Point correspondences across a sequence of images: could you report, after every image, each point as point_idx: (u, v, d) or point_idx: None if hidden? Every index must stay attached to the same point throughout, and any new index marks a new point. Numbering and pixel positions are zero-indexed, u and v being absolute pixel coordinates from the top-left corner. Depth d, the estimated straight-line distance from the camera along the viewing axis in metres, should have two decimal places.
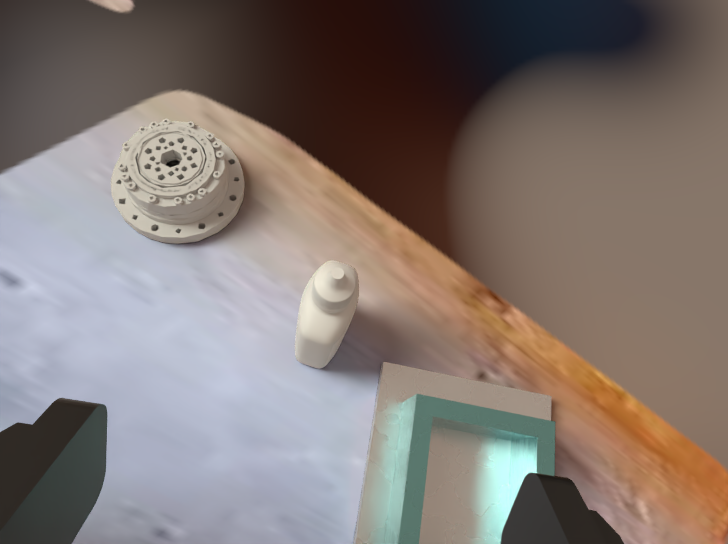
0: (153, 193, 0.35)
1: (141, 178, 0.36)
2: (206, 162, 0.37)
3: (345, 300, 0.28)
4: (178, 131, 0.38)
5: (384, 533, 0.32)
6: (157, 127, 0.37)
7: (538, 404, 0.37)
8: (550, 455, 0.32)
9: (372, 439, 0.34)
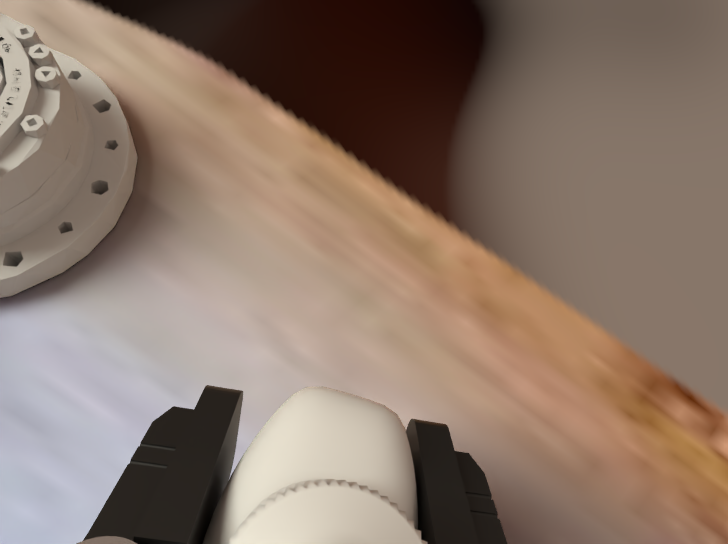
0: None
1: None
2: (4, 93, 0.14)
3: None
4: None
5: None
6: None
7: None
8: None
9: None
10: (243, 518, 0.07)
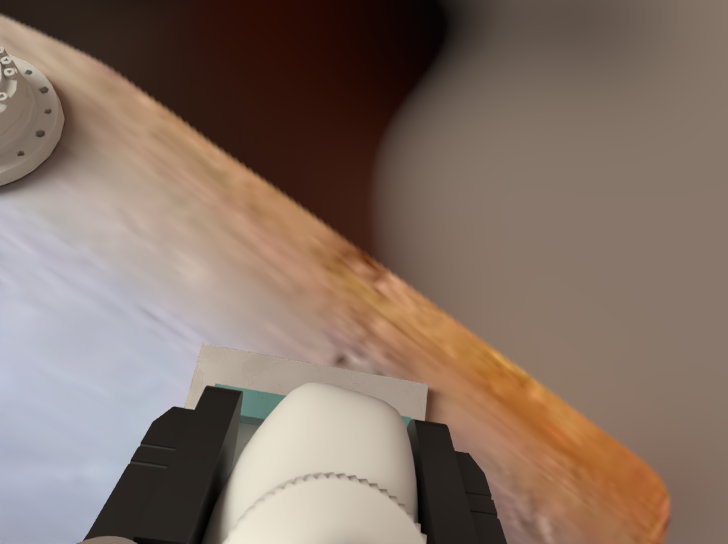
0: None
1: None
2: None
3: None
4: None
5: None
6: None
7: (410, 396, 0.29)
8: None
9: None
10: (243, 513, 0.07)
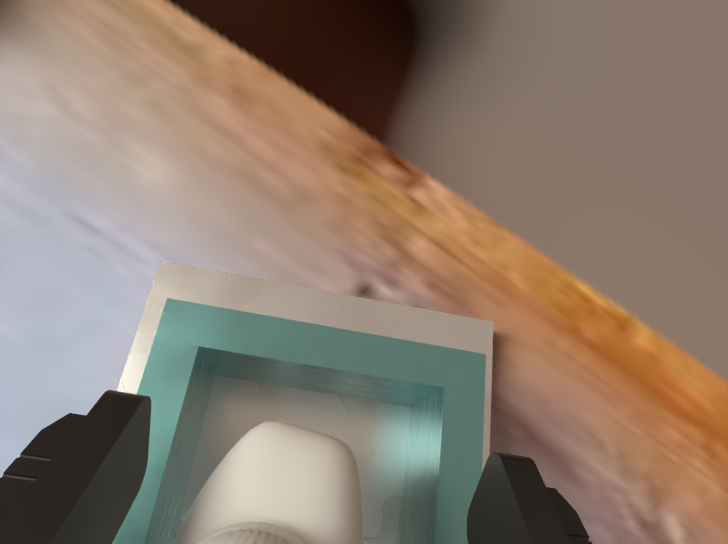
0: None
1: None
2: None
3: None
4: None
5: None
6: None
7: (468, 337, 0.19)
8: (473, 427, 0.14)
9: None
10: None
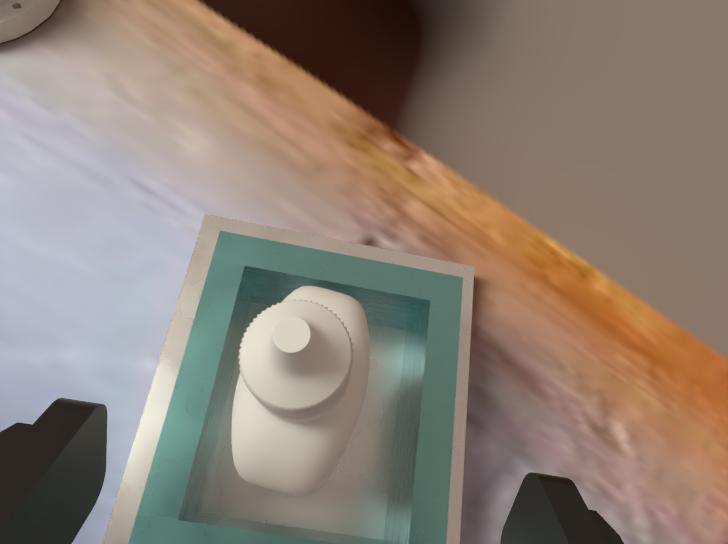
0: None
1: None
2: None
3: None
4: None
5: None
6: None
7: None
8: (452, 329, 0.18)
9: (171, 327, 0.21)
10: None
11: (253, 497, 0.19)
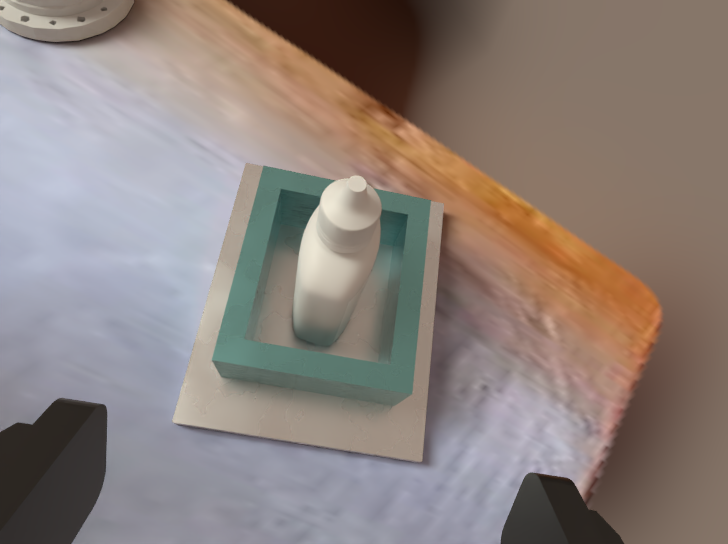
0: None
1: None
2: None
3: (367, 229, 0.19)
4: None
5: None
6: None
7: None
8: (422, 233, 0.27)
9: (225, 239, 0.29)
10: None
11: None
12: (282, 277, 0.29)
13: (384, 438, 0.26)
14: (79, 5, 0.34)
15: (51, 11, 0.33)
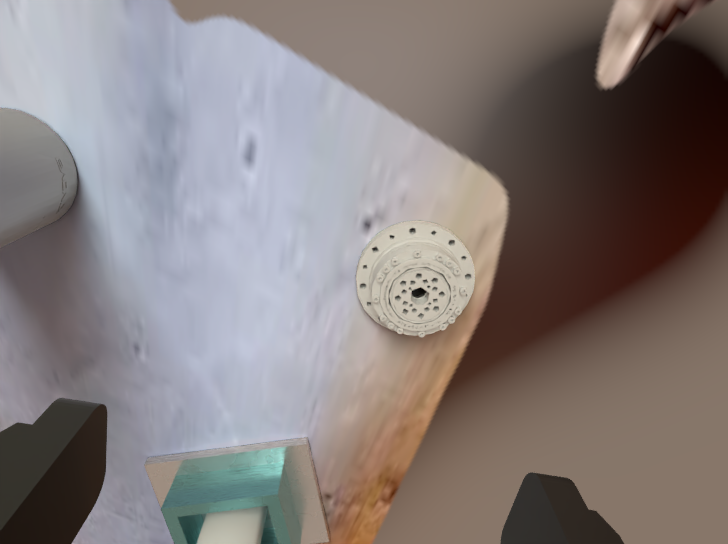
0: (380, 298, 0.39)
1: (389, 284, 0.39)
2: (428, 323, 0.40)
3: None
4: (450, 287, 0.39)
5: (198, 472, 0.49)
6: (447, 269, 0.38)
7: (319, 536, 0.52)
8: None
9: (250, 451, 0.48)
10: None
11: None
12: None
13: None
14: None
15: None
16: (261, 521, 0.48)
